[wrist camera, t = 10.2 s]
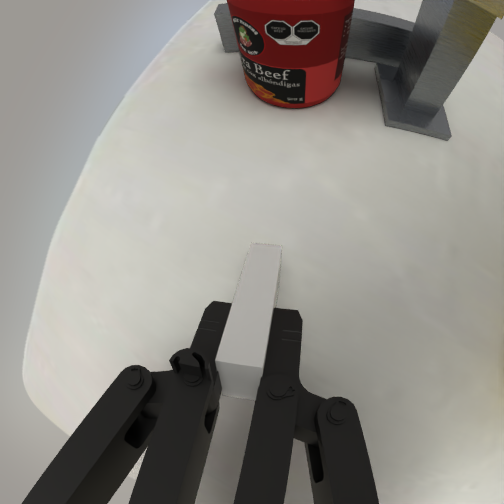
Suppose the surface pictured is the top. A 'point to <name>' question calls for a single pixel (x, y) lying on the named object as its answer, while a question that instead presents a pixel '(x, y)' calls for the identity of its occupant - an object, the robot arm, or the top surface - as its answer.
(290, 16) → the canned food
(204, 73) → the top surface
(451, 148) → the top surface
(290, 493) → the top surface
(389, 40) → the bracket
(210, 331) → the robot arm
